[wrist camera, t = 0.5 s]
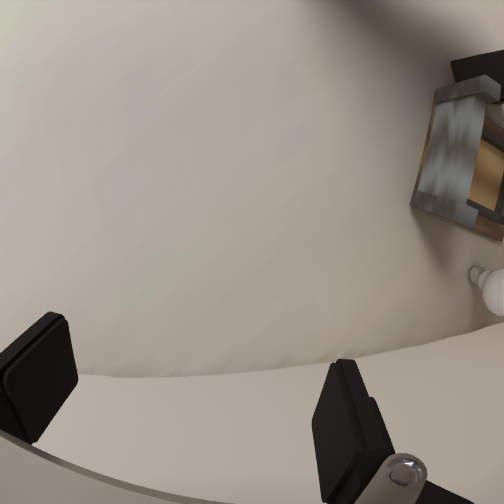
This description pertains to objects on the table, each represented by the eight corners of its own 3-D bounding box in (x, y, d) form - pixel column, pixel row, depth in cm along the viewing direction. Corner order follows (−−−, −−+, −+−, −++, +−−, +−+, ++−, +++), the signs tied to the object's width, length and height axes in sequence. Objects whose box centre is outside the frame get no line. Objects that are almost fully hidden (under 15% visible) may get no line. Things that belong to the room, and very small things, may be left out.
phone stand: (492, 67, 30) (543, 53, 19) (501, 104, 32) (554, 98, 21) (449, 61, 31) (500, 40, 20) (459, 101, 33) (513, 91, 21)
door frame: (432, 90, 33) (485, 74, 21) (520, 143, 33) (573, 147, 22) (407, 203, 37) (456, 222, 26) (498, 240, 38) (548, 264, 26)
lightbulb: (469, 299, 41) (508, 332, 30) (451, 275, 40) (493, 306, 29) (493, 269, 39) (536, 296, 29) (477, 243, 38) (523, 267, 28)
